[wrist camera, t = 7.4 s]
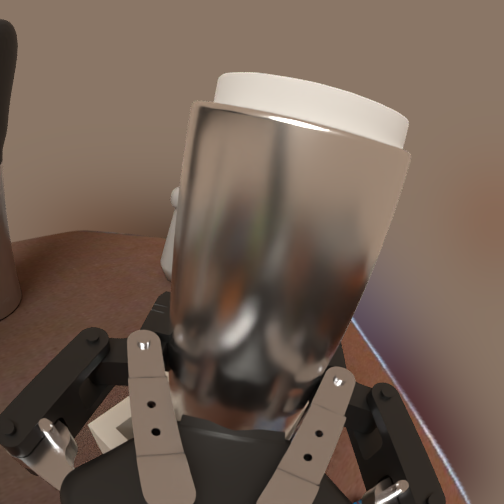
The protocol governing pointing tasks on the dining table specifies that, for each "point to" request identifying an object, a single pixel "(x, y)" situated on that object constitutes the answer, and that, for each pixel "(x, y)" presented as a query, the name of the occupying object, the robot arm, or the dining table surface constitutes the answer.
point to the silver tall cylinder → (275, 242)
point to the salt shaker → (170, 239)
